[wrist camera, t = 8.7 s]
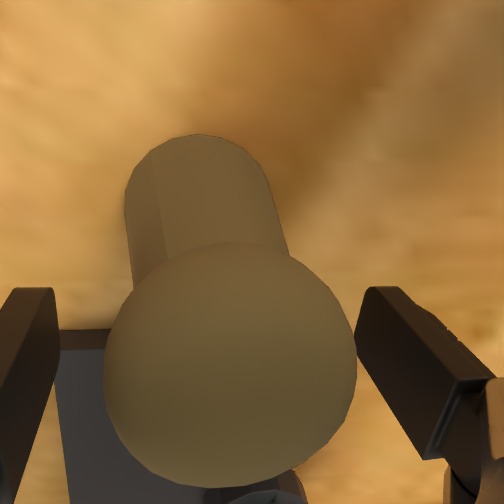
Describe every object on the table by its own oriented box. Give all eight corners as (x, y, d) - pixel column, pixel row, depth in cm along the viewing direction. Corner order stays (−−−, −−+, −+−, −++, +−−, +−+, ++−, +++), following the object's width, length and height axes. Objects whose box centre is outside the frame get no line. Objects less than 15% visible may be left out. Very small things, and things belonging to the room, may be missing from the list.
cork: (287, 244, 18) (422, 468, 9) (160, 291, 18) (154, 571, 8) (247, 111, 15) (386, 226, 6) (96, 165, 15) (-26, 376, 6)
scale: (57, 329, 18) (38, 378, 15) (329, 323, 21) (352, 364, 18) (80, 524, 24) (70, 582, 22) (286, 499, 27) (299, 548, 24)
